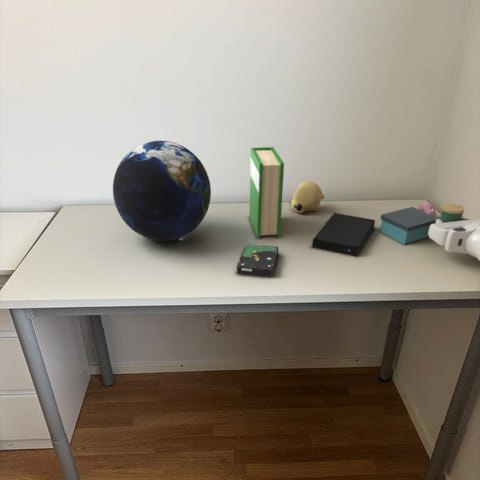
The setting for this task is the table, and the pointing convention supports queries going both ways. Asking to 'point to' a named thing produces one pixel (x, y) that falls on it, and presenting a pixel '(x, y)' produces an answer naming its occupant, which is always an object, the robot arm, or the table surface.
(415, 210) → the storage box
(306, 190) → the toy pig
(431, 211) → the video game controller
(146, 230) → the globe
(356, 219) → the external hard drive
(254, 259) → the disk drive
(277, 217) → the hardback book
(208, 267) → the table surface
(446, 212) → the tea tin
